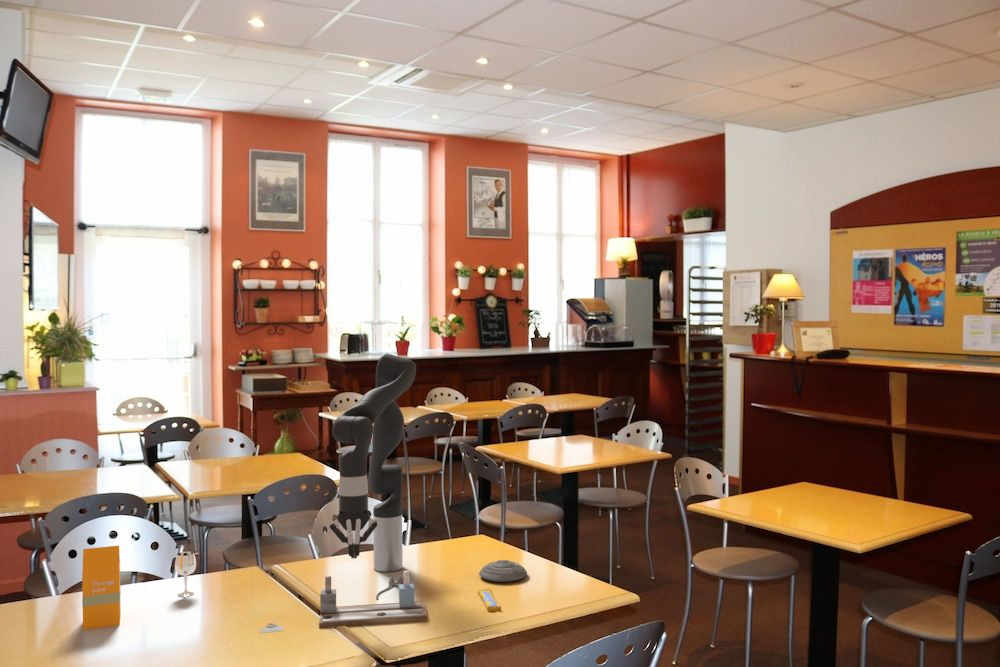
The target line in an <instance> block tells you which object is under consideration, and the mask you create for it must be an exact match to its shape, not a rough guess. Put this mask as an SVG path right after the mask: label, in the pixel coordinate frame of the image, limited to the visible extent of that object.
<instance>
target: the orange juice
mask: <svg viewBox="0 0 1000 667" xmlns="http://www.w3.org/2000/svg"><path fill="white" fill-rule="evenodd" d="M81 574H82V575H81V578H82V579H81V580H82V581H81V582H82V583H81V584H82V587H81V588H82V593H81V594H82V602H81V603H82V604H81V605H82V630H83V631H85V630H91V629H99V628H106V627H113V626H114V627H115V626H121V618H122V617H121V613H122V612H121V594H122V593H121V592H122V591H121V560H120V545H111V546H102V547H101V546H99V547H91V548H83V550H82V573H81Z"/></svg>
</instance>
